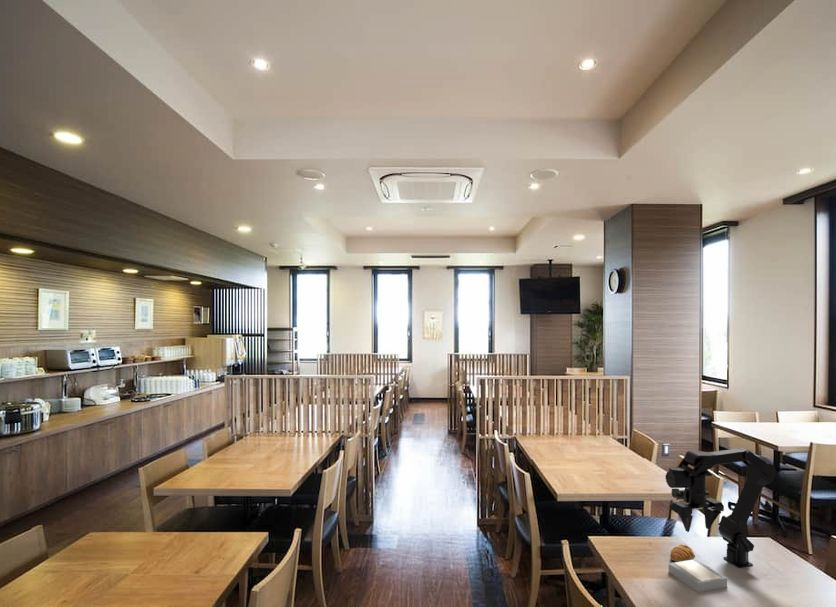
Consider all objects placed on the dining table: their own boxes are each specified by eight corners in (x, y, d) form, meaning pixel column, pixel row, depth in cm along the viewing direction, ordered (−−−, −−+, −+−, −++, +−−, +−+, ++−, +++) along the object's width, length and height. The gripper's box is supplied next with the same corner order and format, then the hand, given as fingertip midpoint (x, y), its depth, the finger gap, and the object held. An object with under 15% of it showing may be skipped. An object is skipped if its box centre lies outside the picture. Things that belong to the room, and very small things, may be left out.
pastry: (684, 567, 157) (684, 557, 157) (664, 558, 163) (665, 548, 163) (696, 559, 163) (696, 548, 163) (677, 550, 168) (677, 540, 168)
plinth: (696, 567, 158) (695, 558, 158) (727, 587, 146) (726, 577, 146) (668, 572, 155) (668, 562, 155) (698, 592, 143) (697, 582, 143)
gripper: (698, 477, 172) (698, 517, 171) (658, 481, 167) (659, 522, 166) (724, 488, 161) (725, 531, 160) (683, 492, 156) (683, 537, 156)
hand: (697, 530), depth 161 cm, fingers open, 9 cm apart
